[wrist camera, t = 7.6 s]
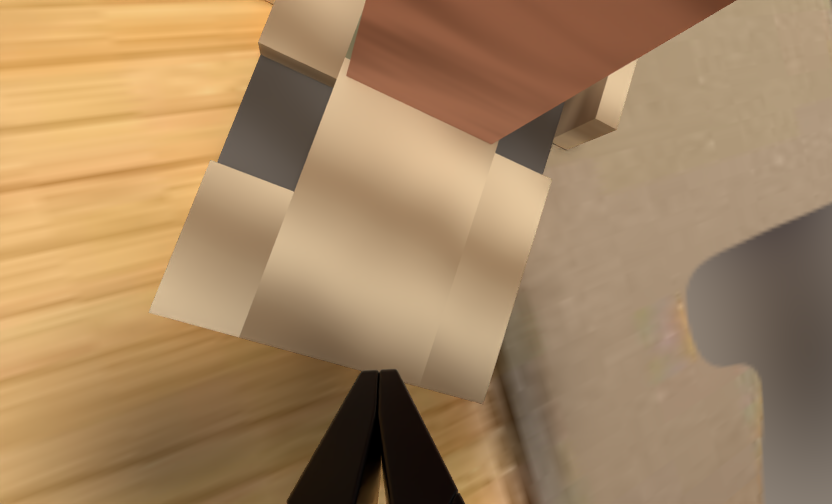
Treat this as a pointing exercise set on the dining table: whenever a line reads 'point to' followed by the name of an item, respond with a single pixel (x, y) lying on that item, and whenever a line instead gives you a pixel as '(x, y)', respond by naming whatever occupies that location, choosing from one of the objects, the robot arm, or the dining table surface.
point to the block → (506, 52)
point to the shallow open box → (366, 214)
